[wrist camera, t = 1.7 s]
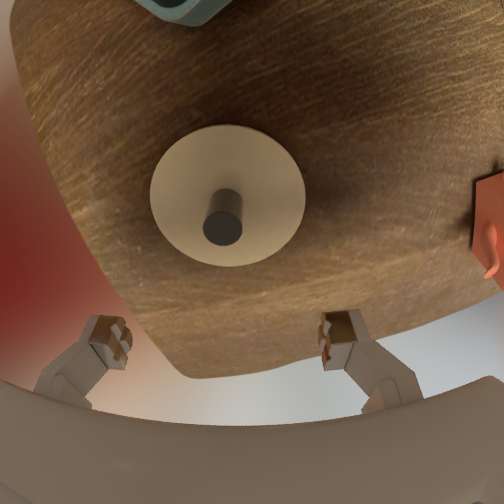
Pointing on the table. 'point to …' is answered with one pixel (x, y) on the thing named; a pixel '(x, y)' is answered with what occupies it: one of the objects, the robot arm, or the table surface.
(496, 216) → the teapot
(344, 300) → the table surface
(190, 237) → the lid
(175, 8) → the flower pot
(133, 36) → the table surface
